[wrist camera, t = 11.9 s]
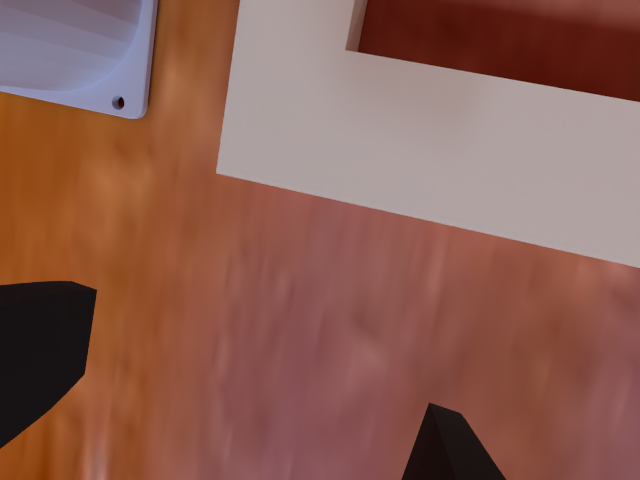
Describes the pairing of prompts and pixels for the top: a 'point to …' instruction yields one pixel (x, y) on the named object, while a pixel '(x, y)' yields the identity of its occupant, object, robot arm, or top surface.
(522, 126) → the puzzle board
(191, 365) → the top surface
